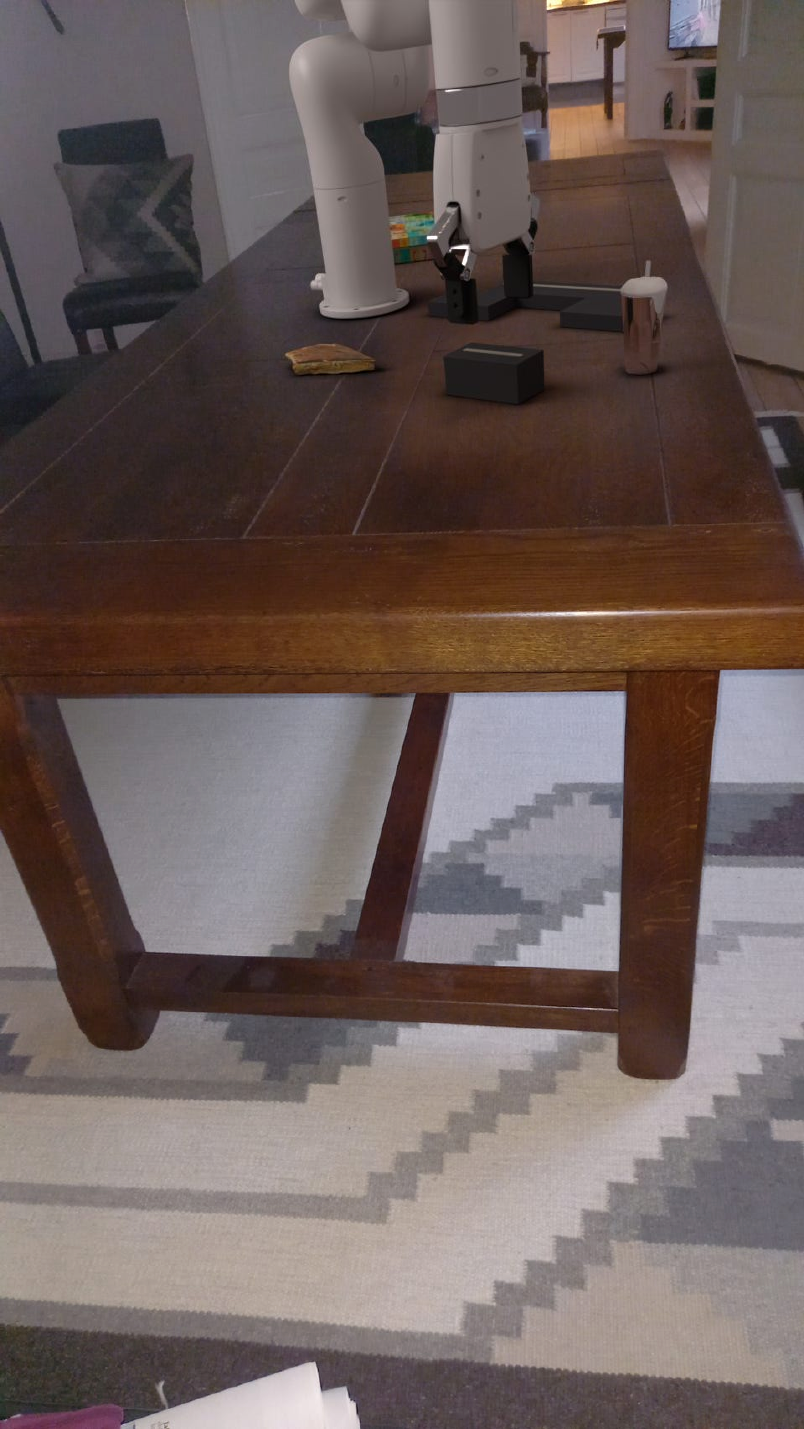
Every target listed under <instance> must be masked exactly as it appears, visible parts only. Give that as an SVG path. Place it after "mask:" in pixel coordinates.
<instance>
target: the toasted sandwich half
mask: <svg viewBox="0 0 804 1429" xmlns="http://www.w3.org/2000/svg"><path fill="white" fill-rule="evenodd" d="M285 357H286V358H287V359H288V360H289V361H290V362H292V369H293V372H294V373H295V374H296V375H297V376H303V375H308V374H309V375H318V374H331V375H335V374H342V373H357V372H362V371H373V370H375V368H376V367H375V363H376V361H377V358H373V357H371V356H369V355H365V354H363V353H361V352H360V351H358V350H355V349H353V348H352V347H349V346H348V347H347V346H346V345H343V344H339V343H337V342H336V343H332V344H331V343H330V344H329V343H327V344H326V343H318V344H313V345H309V346H306V347H302V348H298V349H297V348H296V349H294V350H291V351H288V352H286V353H285Z"/></svg>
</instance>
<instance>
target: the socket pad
mask: <svg viewBox="0 0 804 1429" xmlns="http://www.w3.org/2000/svg"><path fill="white" fill-rule="evenodd" d="M622 287H623V285H610V284H594V283H593V284H591V283H576V282H575V283H573V282H559V281H558V282H557V281H537V280H533V296H532V297H531V298H528V299H526V298H507V297H506V296H505V295H504V282H502V283H500V284H498V285H495V286H493V287H491V288H488V289H486V290H477V303H478V321H486V322H490V321H492V320H494V319H496V318H498V317H500V316H502V315H504V314H506V313H507V312H509V311H511V310H514V309H516V308H521V309H533V310H547V311H548V310H549V311H558V312H559V327H560V328H570V329H583V330H595V331H608V332H621V333H623V317H622V305H621V292H620V290H621V288H622ZM427 306H428V307H427V309H428V316H429V317H440V318H448V310H447V298H446V293H444V294H442V295H440V296H437V297H436V298H433V299H431V300H428V301H427Z"/></svg>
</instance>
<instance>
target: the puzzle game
mask: <svg viewBox="0 0 804 1429" xmlns="http://www.w3.org/2000/svg"><path fill="white" fill-rule="evenodd" d="M389 220H390V230H391V239H392V248H393V258H394V265H395V264H401V263H403V264H404V263H410V262H417V261H425V260H432V259H433V260H434V257H433V256H432V253H431V251H430V249H429V246H428V244H427V236H428V234H429V233H430V231H431V230H432V228H433V227H434V226H435V219H434V211H426V212H419V213H417V212H416V213H411V214H403V215H395V216H389Z"/></svg>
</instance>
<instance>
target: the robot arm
mask: <svg viewBox="0 0 804 1429" xmlns="http://www.w3.org/2000/svg"><path fill="white" fill-rule="evenodd" d="M294 3H295V6H296V8H297V10H298V12H299V13H300V15H301V16H302V17H303V18H304V19H307V20H309V21H313V22H320V23H322V22H323V23H324V22H335V21H346V20H347V23H348V26H349V27H350V29H351V31H347V32H339V33H334V34H333V33H332V34H327V35H321V36H318V37H314V38H311V39H309V40H307V41H304V42H303V43H302V44H300V45H299V46H298V47H297V48H296V49H295V50H294V52H293V53H292V55H291V57H290V60H289V66H288V77H289V85H290V90H291V94H292V98H293V101H294V104H295V108H296V112H297V115H298V118H299V123H300V125H301V129H302V133H303V138H304V142H305V146H306V153H307V157H308V164H309V170H310V176H311V183H312V189H313V196H314V203H315V210H316V217H317V224H318V229H319V230H318V231H319V236H320V244H321V250H322V255H323V256H322V257H323V263H324V273H323V272H321V273H320V272H318V273H317V274H316V275H315V278H314V279H312V280H311V281H310V284H309V286H310V289H311V290H312V291H316V292H317V291H318V292H321V291H322V294H323V300H322V301H321V302H320V303H319V311H320V314H321V315H322V316H323V317H326V318H330V319H337V320H338V319H340V320H352V319H353V320H354V319H364V318H370V317H376V316H381V315H385V314H389V313H392V312H395V311H397V310H400V309H402V308H404V307H405V306H407V305H408V304H409V303H410V295H409V292H408V291H407V290H406V289H403V288H399V287H398V286H397V278H396V276H397V275H396V269H395V268H396V266H395V264H394V258H393V248H392V239H391V230H390V220H389V217H390V213H389V202H388V194H387V184H386V176H385V167H384V163H383V159H382V157H381V155H380V152H379V151H378V149H377V148H376V146H375V145H374V144H373V143H372V141H371V140H370V139H369V137H367V136H366V135H365V133H364V132H363V131H362V130H361V128H360V125H361V124H365V123H369V122H373V121H380V120H385V119H386V120H387V119H390V118H391V119H392V118H398V117H401V116H406V115H412V114H414V113H416V112H418V111H419V110H421V109H422V108H423V107H424V106H425V104H426V102H427V99H428V96H429V90H430V78H431V77H430V74H431V71H430V47H429V46H430V45H431V47H432V59H433V72H434V84H435V85H434V86H435V89H436V90H435V95H436V109H437V121H438V131H439V133H436V134H435V139H434V140H435V142H434V153H433V169H432V170H433V172H432V175H433V176H432V177H433V178H432V182H433V188H432V189H433V212H434V219H435V226H434V227H433V228H432V230H431V231H430V233H429V234H428V236H427V244H428V246H429V249H430V251H431V253H432V256H433V257H434V259H433V264H434V267H435V268H437V270H438V271H439V275H440V279H441V280H442V281H444V285H445V286H444V287H445V294H446V298H447V310H448V317H447V320H448V322H449V323H450V324H456V325H457V324H459V325H472V326H473V325H475V324H478V322H479V320H478V303H477V291H478V290H477V280H476V278H471V277H472V274H473V272H474V268H475V266H476V262H477V259H478V256H479V254H482V253H486V252H488V251H491V250H494V249H497V248H499V247H502V248H503V249H504V251H505V252H506V253H507V254H502V255H501V261H502V277H503V278H502V280H503V281H502V283H504V295H505V296H506V297H507V298H526V299H528V298H531V297H532V296H533V281H534V272H533V254H534V253H535V250H536V244H535V242H534V241H535V238H536V236H537V233H538V231H539V230H538V228H539V226H538V223H537V222H538V220H539V214H540V210H541V204H542V203H541V200H540V198H539V197H537V196H536V195H534V194H533V193H532V192H531V183H530V170H529V161H528V153H527V145H526V139H525V132H524V126H523V121H524V120H523V119H524V118H523V117H524V116H523V92H522V91H523V90H522V79H521V78H522V68H521V44H520V43H521V42H520V41H521V40H520V19H519V18H520V16H519V15H520V14H519V0H294ZM460 256H463V258H462V262H461V261H460V260H459V259H458V257H460Z"/></svg>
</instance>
